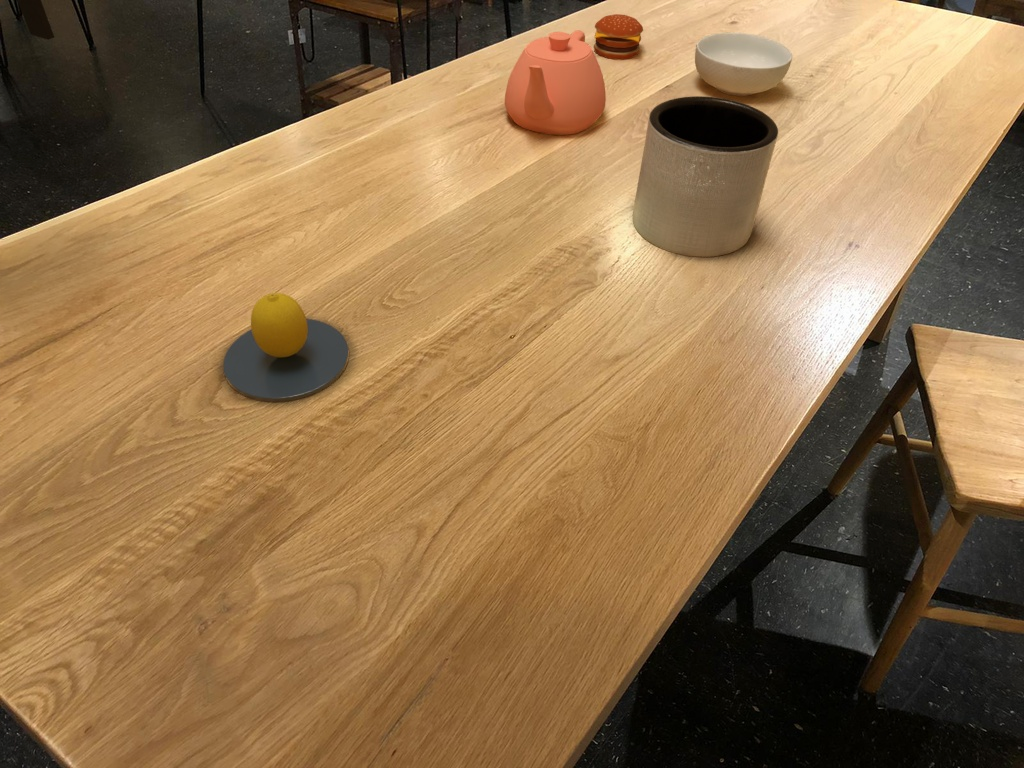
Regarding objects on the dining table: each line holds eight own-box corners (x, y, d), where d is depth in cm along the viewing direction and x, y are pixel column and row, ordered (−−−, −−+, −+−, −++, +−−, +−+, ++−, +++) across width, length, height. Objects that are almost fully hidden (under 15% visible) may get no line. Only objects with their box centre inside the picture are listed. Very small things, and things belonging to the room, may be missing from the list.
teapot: (576, 159, 119) (584, 72, 110) (477, 139, 123) (477, 53, 114) (619, 99, 136) (629, 20, 127) (531, 83, 140) (535, 5, 131)
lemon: (249, 366, 80) (232, 305, 75) (276, 334, 84) (262, 274, 78) (297, 378, 79) (283, 316, 73) (322, 345, 83) (310, 284, 77)
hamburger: (594, 41, 157) (597, 7, 153) (640, 45, 156) (645, 11, 152) (590, 57, 150) (593, 22, 146) (639, 62, 149) (644, 26, 145)
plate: (199, 380, 80) (195, 370, 79) (282, 315, 89) (280, 304, 88) (296, 425, 76) (293, 415, 75) (374, 352, 84) (372, 341, 83)
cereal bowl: (673, 89, 140) (680, 49, 135) (713, 63, 150) (721, 25, 145) (759, 115, 133) (770, 74, 128) (796, 86, 143) (807, 47, 138)
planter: (769, 257, 100) (803, 146, 90) (653, 269, 98) (674, 155, 87) (721, 196, 112) (746, 91, 101) (616, 205, 109) (631, 98, 98)
